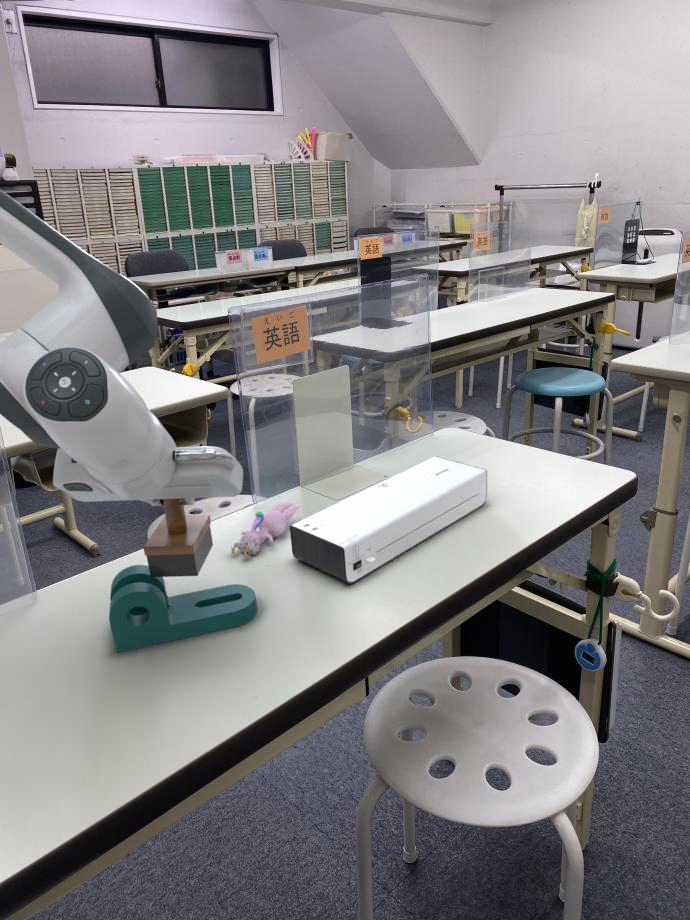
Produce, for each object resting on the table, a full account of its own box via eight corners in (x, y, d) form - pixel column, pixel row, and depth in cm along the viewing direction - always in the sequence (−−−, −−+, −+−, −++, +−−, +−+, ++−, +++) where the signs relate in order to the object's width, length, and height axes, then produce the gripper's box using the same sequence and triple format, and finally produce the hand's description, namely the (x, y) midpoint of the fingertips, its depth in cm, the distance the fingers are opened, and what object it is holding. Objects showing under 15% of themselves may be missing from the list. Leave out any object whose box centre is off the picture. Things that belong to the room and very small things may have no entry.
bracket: (116, 652, 84) (104, 598, 81) (118, 622, 90) (106, 570, 87) (261, 621, 88) (253, 568, 86) (252, 594, 94) (246, 544, 92)
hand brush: (198, 577, 84) (180, 469, 79) (149, 578, 85) (128, 471, 80) (214, 544, 92) (199, 444, 87) (169, 545, 93) (151, 446, 87)
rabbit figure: (257, 570, 103) (312, 516, 113) (248, 538, 100) (305, 486, 111) (226, 561, 106) (282, 509, 117) (216, 530, 103) (275, 479, 114)
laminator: (434, 487, 124) (434, 455, 121) (492, 505, 115) (493, 471, 113) (293, 562, 102) (289, 525, 100) (351, 590, 94) (348, 550, 91)
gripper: (230, 425, 74) (256, 473, 86) (48, 433, 75) (100, 479, 88) (226, 479, 71) (254, 521, 84) (38, 486, 73) (93, 526, 86)
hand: (174, 499), depth 86 cm, fingers closed on hand brush, 2 cm apart
